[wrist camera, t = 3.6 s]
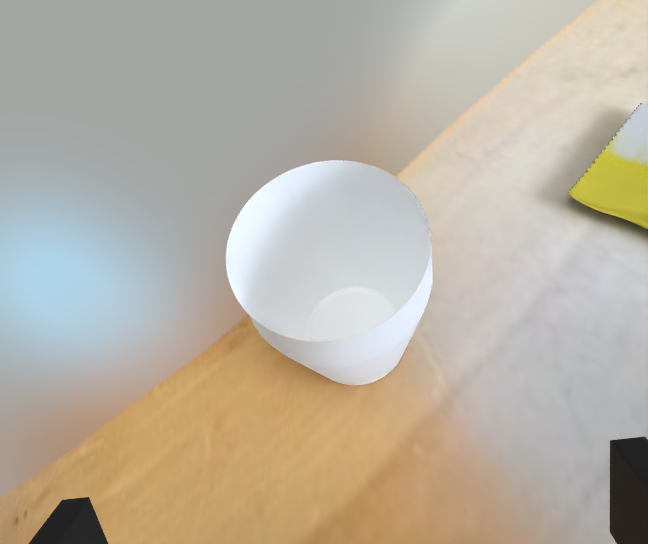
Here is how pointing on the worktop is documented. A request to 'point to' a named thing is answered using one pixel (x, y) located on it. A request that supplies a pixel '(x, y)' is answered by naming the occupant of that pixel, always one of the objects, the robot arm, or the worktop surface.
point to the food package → (620, 173)
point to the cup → (333, 267)
